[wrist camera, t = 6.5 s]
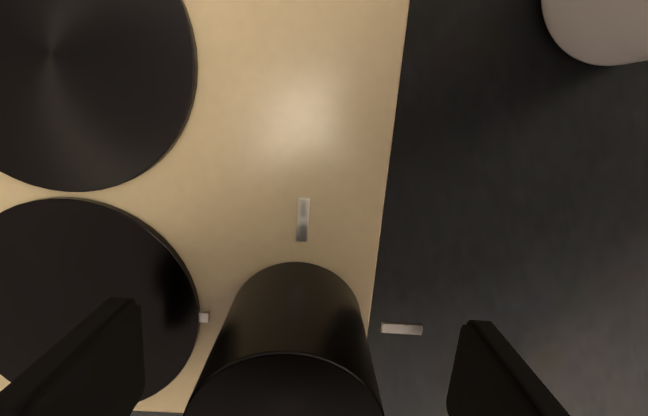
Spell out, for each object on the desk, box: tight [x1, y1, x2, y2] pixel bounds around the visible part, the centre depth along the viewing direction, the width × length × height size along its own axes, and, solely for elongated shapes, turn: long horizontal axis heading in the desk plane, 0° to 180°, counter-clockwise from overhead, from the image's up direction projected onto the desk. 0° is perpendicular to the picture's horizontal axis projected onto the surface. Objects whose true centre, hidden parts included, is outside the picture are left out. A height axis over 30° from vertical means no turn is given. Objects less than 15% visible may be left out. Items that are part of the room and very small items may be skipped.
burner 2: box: [0, 197, 200, 402], centre depth 11 cm, size 8×8×1 cm
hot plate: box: [0, 0, 423, 413], centre depth 12 cm, size 16×16×3 cm
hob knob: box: [183, 262, 384, 416], centre depth 9 cm, size 4×4×5 cm
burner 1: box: [0, 0, 198, 192], centre depth 9 cm, size 8×8×1 cm
